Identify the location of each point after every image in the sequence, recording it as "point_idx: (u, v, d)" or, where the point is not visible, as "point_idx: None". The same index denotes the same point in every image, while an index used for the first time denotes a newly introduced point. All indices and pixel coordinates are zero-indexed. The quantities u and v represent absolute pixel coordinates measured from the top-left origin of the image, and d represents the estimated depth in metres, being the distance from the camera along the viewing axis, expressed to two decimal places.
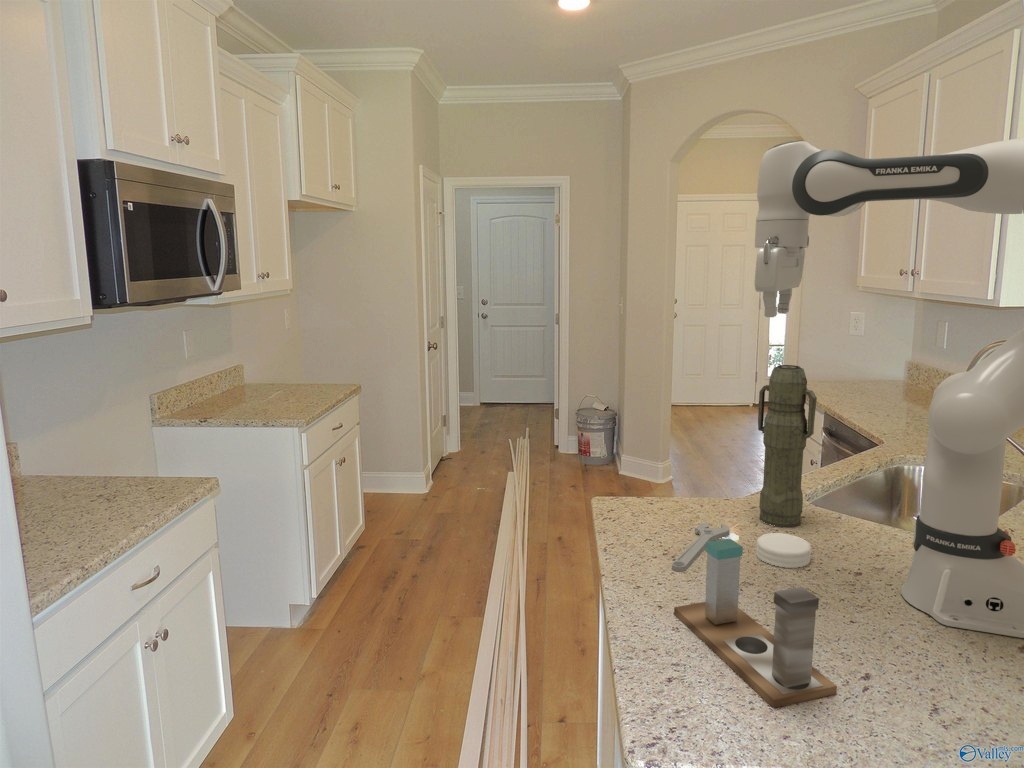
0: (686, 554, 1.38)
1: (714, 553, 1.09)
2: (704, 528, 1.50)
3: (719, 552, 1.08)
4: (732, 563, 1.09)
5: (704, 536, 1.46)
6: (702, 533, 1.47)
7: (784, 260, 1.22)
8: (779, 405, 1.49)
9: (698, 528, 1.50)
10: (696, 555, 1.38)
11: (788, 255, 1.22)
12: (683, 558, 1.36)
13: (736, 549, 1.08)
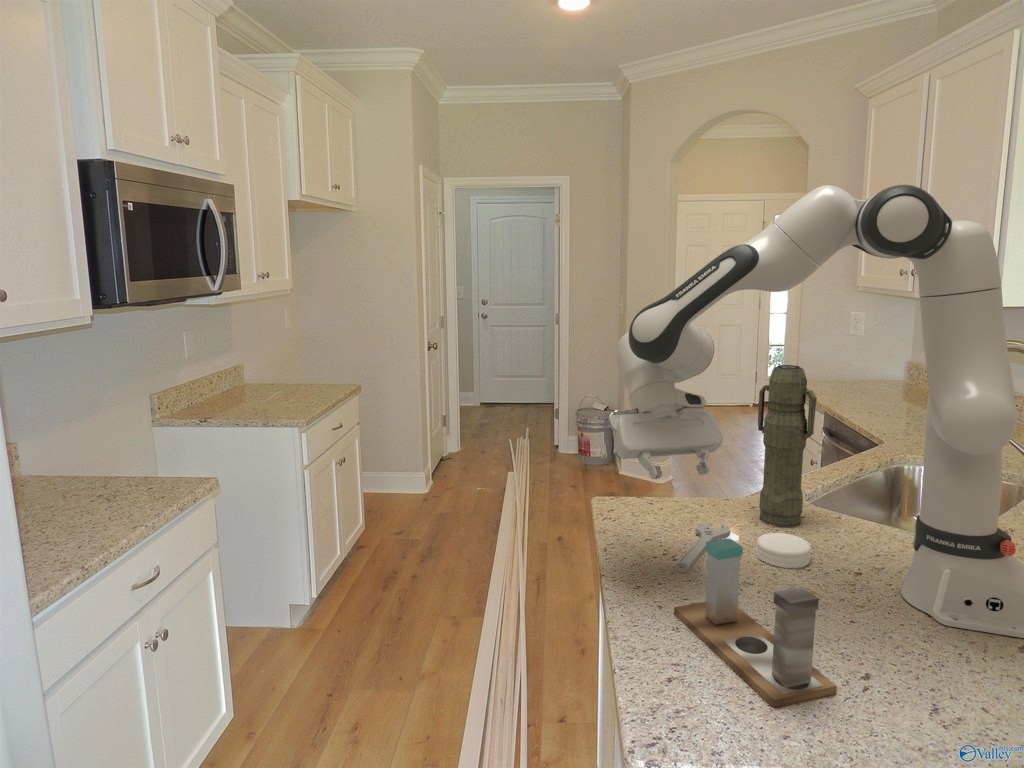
0: (688, 555, 1.37)
1: (714, 553, 1.09)
2: (705, 529, 1.49)
3: (719, 552, 1.08)
4: (732, 563, 1.09)
5: (705, 537, 1.45)
6: (703, 534, 1.47)
7: (650, 423, 1.25)
8: (779, 405, 1.49)
9: (699, 529, 1.49)
10: (698, 556, 1.37)
11: (654, 417, 1.25)
12: (685, 559, 1.35)
13: (736, 549, 1.08)
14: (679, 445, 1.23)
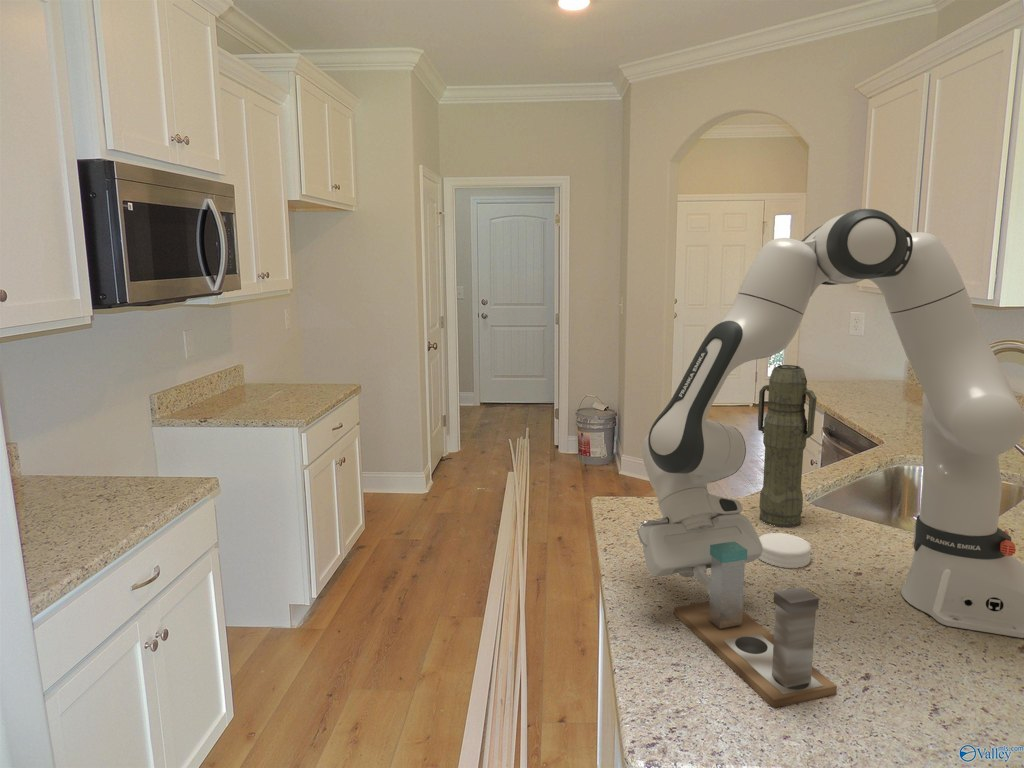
0: None
1: (718, 557, 1.07)
2: None
3: (724, 555, 1.06)
4: (736, 566, 1.08)
5: None
6: None
7: (683, 535, 1.15)
8: (779, 405, 1.49)
9: None
10: None
11: (687, 528, 1.16)
12: None
13: (741, 552, 1.07)
14: None
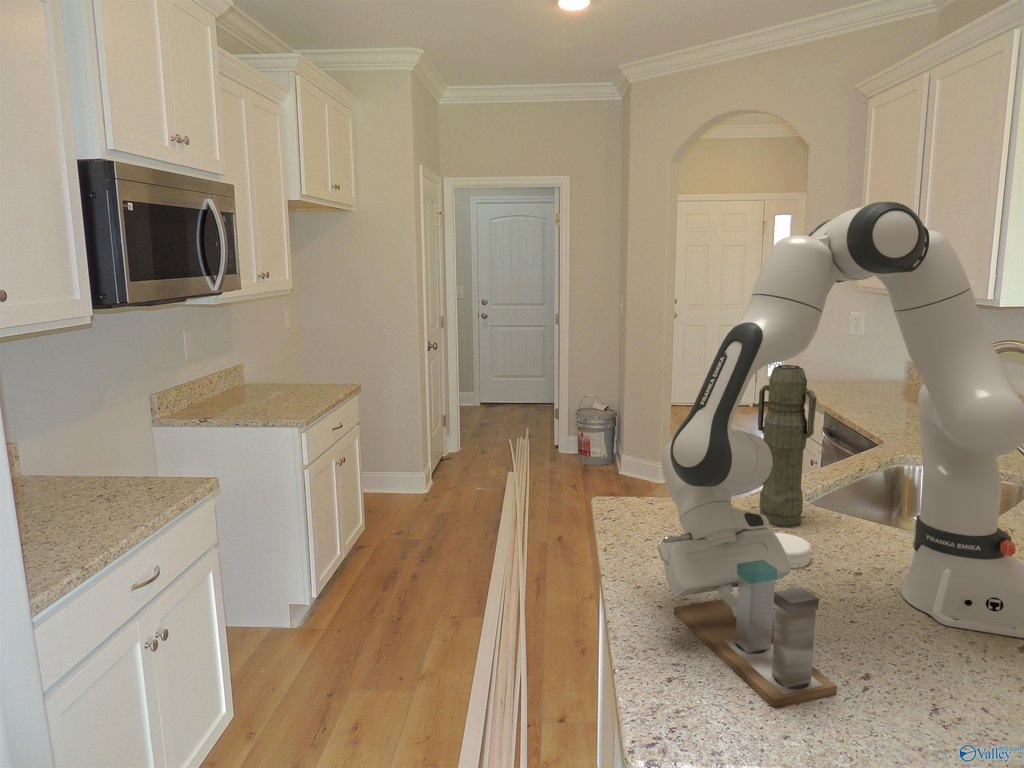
0: None
1: (746, 577, 1.01)
2: None
3: (753, 575, 1.00)
4: (766, 587, 1.01)
5: None
6: None
7: (707, 552, 1.08)
8: (779, 405, 1.49)
9: None
10: None
11: (711, 545, 1.09)
12: None
13: (770, 572, 1.00)
14: None
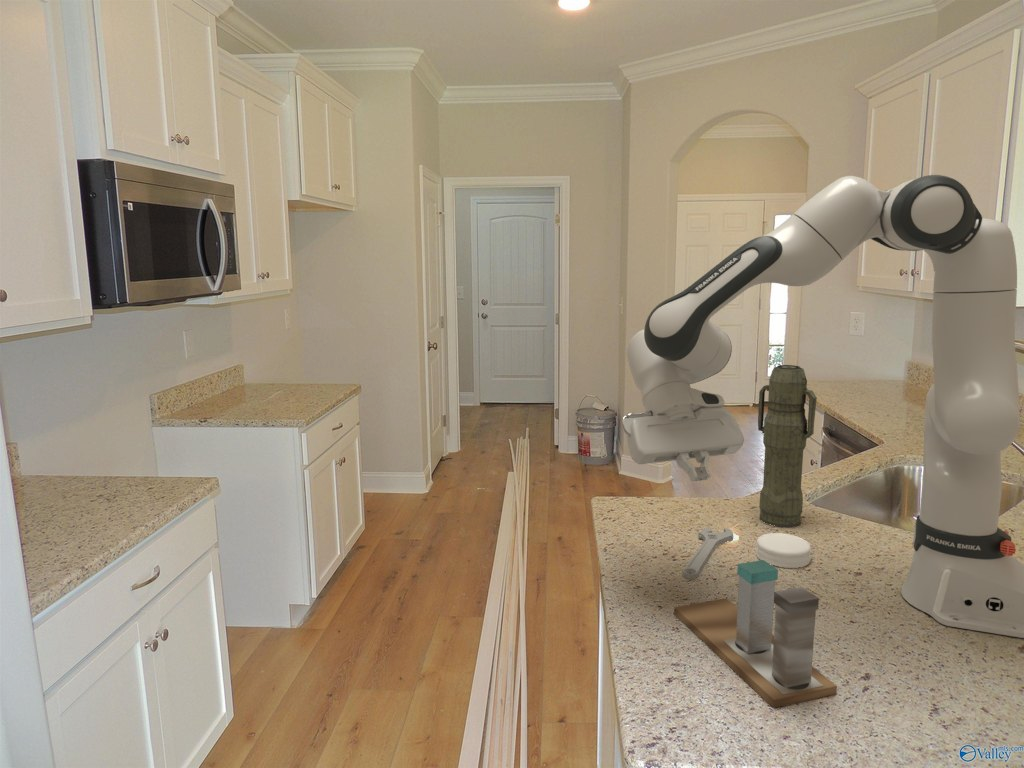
0: (695, 560, 1.35)
1: (747, 577, 1.00)
2: (708, 532, 1.47)
3: (753, 575, 0.99)
4: (766, 587, 1.01)
5: (709, 541, 1.43)
6: (707, 538, 1.44)
7: (666, 425, 1.18)
8: (779, 405, 1.49)
9: (702, 533, 1.47)
10: (705, 561, 1.35)
11: (670, 419, 1.18)
12: (693, 564, 1.33)
13: (771, 572, 1.00)
14: (698, 447, 1.16)
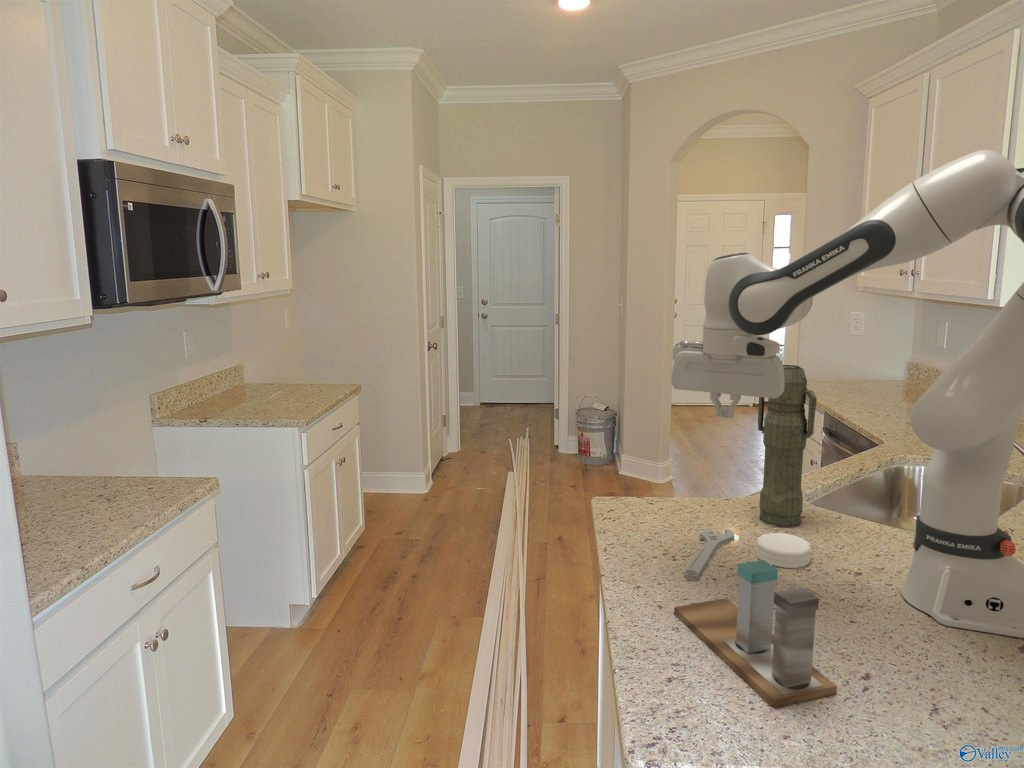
0: (696, 562, 1.34)
1: (747, 577, 1.00)
2: (709, 533, 1.47)
3: (753, 575, 0.99)
4: (766, 587, 1.01)
5: (710, 542, 1.43)
6: (708, 539, 1.44)
7: (706, 364, 1.29)
8: (779, 405, 1.49)
9: (703, 534, 1.47)
10: (706, 562, 1.34)
11: (710, 360, 1.28)
12: (694, 566, 1.32)
13: (771, 572, 1.00)
14: (726, 392, 1.28)
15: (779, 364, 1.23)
